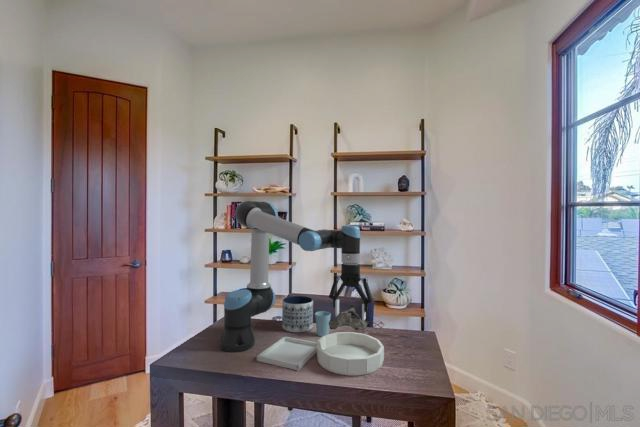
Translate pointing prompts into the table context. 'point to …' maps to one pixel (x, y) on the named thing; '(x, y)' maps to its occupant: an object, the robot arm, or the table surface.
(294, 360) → the tray
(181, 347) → the table surface
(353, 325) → the decorative stone
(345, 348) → the bowl
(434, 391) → the table surface
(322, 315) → the cup
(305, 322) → the planter
